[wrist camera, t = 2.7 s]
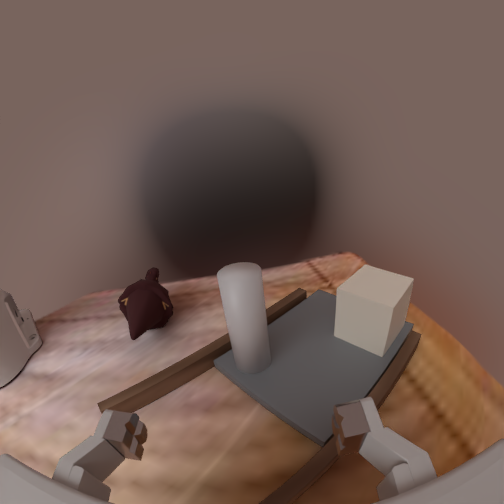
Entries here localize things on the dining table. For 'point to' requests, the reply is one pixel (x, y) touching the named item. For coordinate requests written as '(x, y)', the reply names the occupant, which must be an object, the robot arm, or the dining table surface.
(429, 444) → the dining table surface
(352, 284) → the block
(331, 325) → the board
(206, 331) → the dining table surface
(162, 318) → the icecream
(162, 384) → the rails
